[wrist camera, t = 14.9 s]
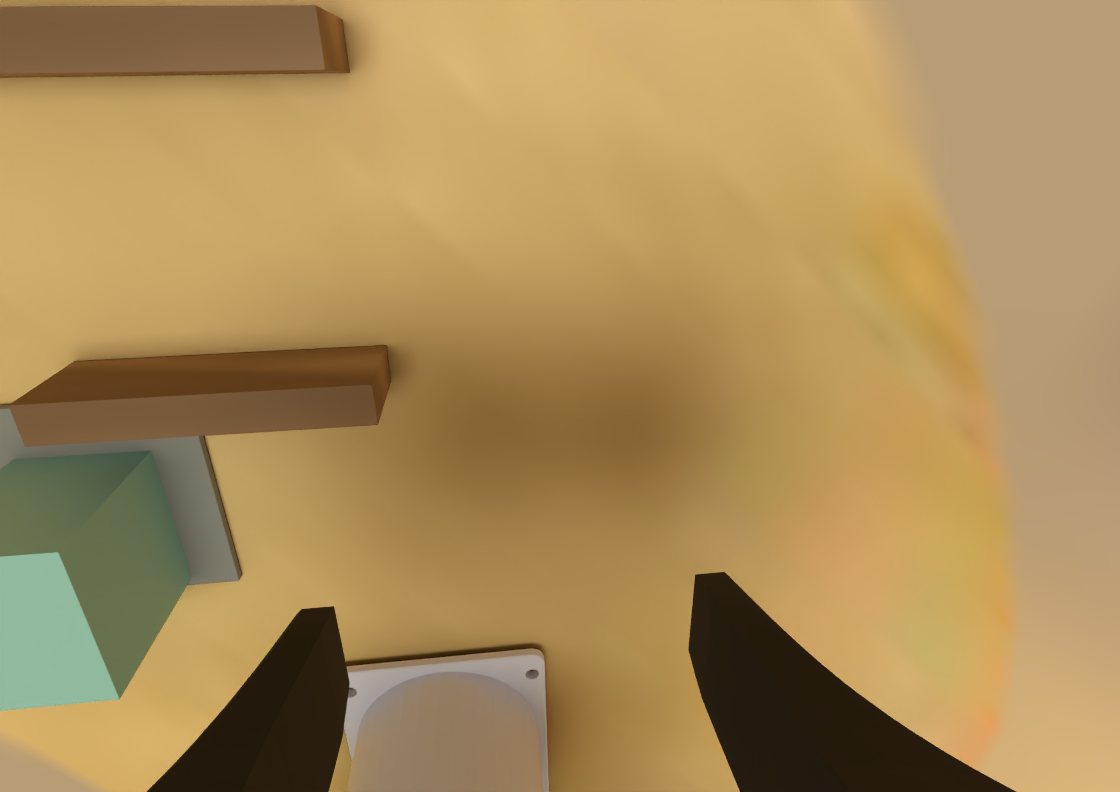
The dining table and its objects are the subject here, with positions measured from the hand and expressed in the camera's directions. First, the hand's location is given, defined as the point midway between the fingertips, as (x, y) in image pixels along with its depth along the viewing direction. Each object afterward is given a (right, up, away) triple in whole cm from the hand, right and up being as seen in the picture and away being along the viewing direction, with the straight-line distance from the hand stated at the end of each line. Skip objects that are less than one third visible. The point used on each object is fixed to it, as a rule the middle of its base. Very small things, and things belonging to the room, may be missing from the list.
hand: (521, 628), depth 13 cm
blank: (-14, +1, +8) cm, 16 cm away
